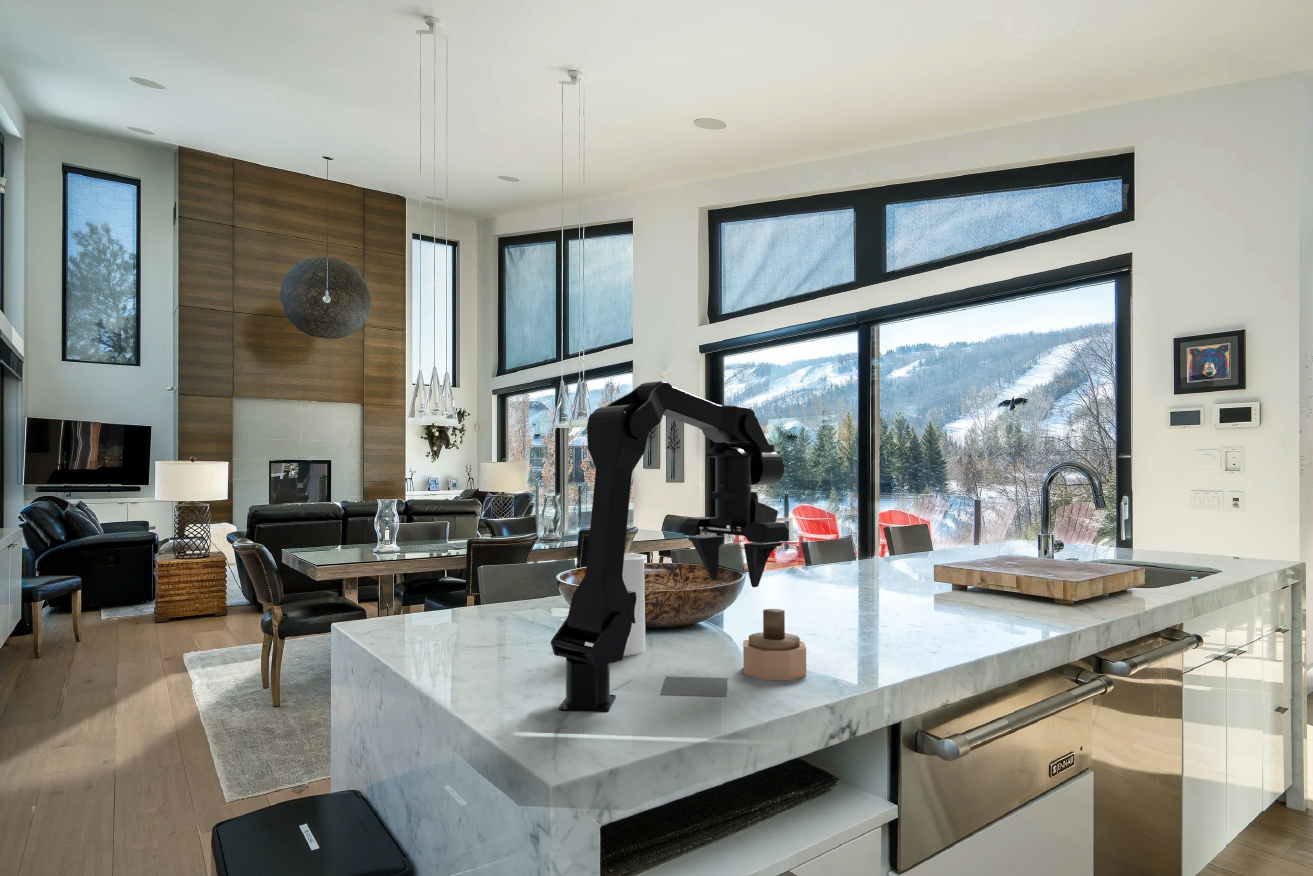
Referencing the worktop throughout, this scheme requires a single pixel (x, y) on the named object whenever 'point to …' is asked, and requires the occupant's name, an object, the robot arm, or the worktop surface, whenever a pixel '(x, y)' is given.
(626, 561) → the cup
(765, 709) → the worktop surface
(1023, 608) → the worktop surface
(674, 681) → the mat
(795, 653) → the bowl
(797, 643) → the lid
